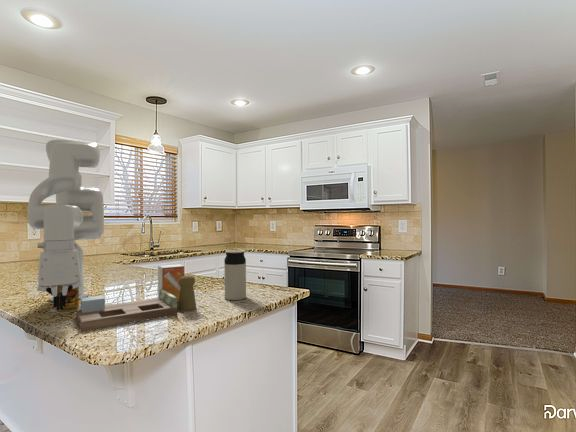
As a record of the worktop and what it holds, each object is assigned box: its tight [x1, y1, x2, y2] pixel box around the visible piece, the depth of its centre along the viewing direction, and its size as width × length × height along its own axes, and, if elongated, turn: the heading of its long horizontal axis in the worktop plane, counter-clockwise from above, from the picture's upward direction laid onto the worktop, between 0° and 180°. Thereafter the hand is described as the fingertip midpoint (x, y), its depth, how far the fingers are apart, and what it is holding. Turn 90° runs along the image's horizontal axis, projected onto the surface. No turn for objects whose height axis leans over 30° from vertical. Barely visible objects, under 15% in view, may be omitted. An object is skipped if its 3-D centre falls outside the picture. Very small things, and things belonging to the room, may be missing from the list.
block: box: [80, 295, 106, 313], centre depth 108 cm, size 5×6×4 cm
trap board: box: [76, 289, 178, 332], centre depth 109 cm, size 16×26×6 cm, turn 125°
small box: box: [157, 263, 185, 303], centre depth 128 cm, size 8×6×13 cm
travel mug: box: [224, 249, 247, 301], centre depth 132 cm, size 8×8×18 cm
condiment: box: [47, 286, 81, 315], centre depth 117 cm, size 7×8×12 cm
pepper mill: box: [177, 275, 197, 312], centre depth 117 cm, size 6×6×11 cm
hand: (59, 308), depth 103 cm, fingers closed
